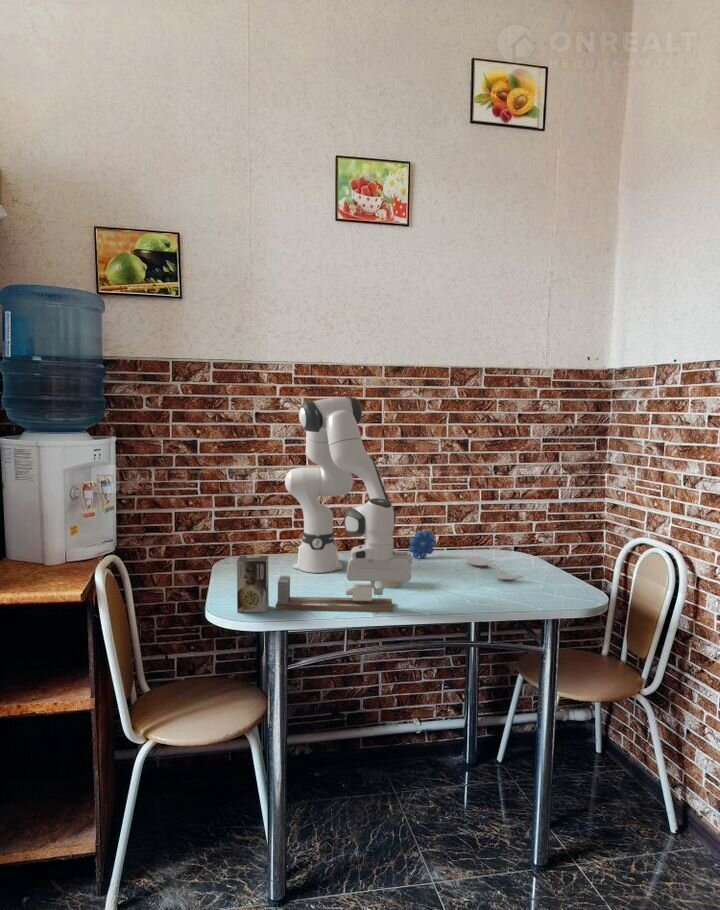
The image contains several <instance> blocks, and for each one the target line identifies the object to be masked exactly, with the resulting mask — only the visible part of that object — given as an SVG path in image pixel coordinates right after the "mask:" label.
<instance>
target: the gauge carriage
mask: <svg viewBox="0 0 720 910" xmlns="http://www.w3.org/2000/svg"><path fill="white" fill-rule="evenodd" d="M345 592H346V593H345V595H346V596H352V598H353V601H361V604H363V601H372V598H373V588H372V586H371V582H370V583H368V582H367V583H363V582H352V588H351V587H346V591H345Z"/></svg>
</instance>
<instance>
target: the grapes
mask: <svg viewBox="0 0 720 910" xmlns="http://www.w3.org/2000/svg"><path fill="white" fill-rule="evenodd" d="M435 538H436V535H435V533H434V532H430V530H428V529H424V530H423V531H422V532H421V531H417V532H415V533H414V537H412V538H411V539H410V540H409V544H410V546H409V548H408V553H410V554H411V553H412V558H413V559H414V558H416V559H417V558H421V559H425V558H427V556H428V555H431V554H432V553H433V552H434V547H435V546H437V540H436V539H435Z"/></svg>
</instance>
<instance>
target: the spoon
mask: <svg viewBox="0 0 720 910" xmlns="http://www.w3.org/2000/svg"><path fill="white" fill-rule="evenodd" d="M465 561H466V562H467V563H468V564H470V565H472V566H475V567H489V568H492V569H494V570H495V571H496V573H497V575H496V578H498V579H499V580H503V581H510V580H517V579H523V578H524V575H522V574H518V575H513V574H507V573H504V572H503V571H502V570H501V569H500V568H499V567H498V566H497V565H496V564H494V563H492V562H490V561H489V560H488V559H486V558H483V556H482V557H481V556H477V555H471V556H467V557H466V559H465Z"/></svg>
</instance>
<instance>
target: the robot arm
mask: <svg viewBox="0 0 720 910" xmlns="http://www.w3.org/2000/svg"><path fill="white" fill-rule="evenodd" d="M362 417H363V410H362V405H361V402H360V401H359V400H358V399H357V398H356V397H353V396H351V397H350V396H345V397H328V398H323V399H322V398H321V399H318V400H309V401H306V402H303V403H302V404H301V406H300V407H299V412H298V419H299V420H298V421H299V423H300V426H301V428H303V429H304V430H305V455H306V457H307V459H309V460H310V461H311V462H312V463H314V464H316V465H318V466H317V467H316V466H315V467H314V466H311V467H308V466H301V467H296V468H291V469H290V470H288V472H287V473H286V475H285V478H284V486H285V489H286V491H287V492H288V494H290V495H291V496H293V498H295V499H296V501H297V502H298V503H299V505H300V507H301V510H302V514H303V531H302V535H301V536H302V537H301V538H302V542H301V544H300V545H299V546H298V553H297V555H298V557H297V562H295V563H294V564H293V565H292V567H293V569H297V570H300V571H303V572H306V573H314V574H315V573H316V574H319V573H321V574H324V573H330V572H335V571H337V570H338V571H339V570H342V569H343V565H342V563H341V561H339V556H338V547H337V545H336V544H335V542H334V541H335V533H334V526H333V525H334V513H333V511H332V509H331V508H329V507H328V506H327V505H324V504H322V503H320V502H319V501H318V497H339V496H344V495H348V494H349V493H350V492H351V490H352V489H353V485H354V478H353V475H356V476H357V477H358V478H359V479H361V480H362V482H363V483H364V487H365V489H366V492H367V495H368V498H369V499H368V501H367V502H365V503H363V504H361V505H358V506H352V507H350V508H348V509H347V510H346V511H345V513H344V517H343V525H344V529H345V532H347V533H348V534H349V535H350V536H351V537H364V539H365V541H364V544H361V545H357V546H354V547H352V548H351V549H350V557H349V559H348V561H347V562H348V563H347V566H346V567H347V568H346V580H347V581H349V582H370V583H371V586H372V590H373V595H374V596H383V595H384V594H383V593H384V589H386V588H385V586H386V585H387V581H395V582H401V583H403V582H404V583H406V582H407V583H408V582H410V580H411V579H412V569H411V566H412V563H413V554H411V553H410V552H409V551H400V552H398V551H399V550H397V551H393V550H394V537H393V535H394V529H395V524H396V521H397V520H396V519H397V516H396V512H395V510H394V508H393V504H392V503H391V502H390V499H389V498H388V495H387V492H386V489H385V487H384V484H383V480H382V477H381V475H380V472H379V470H378V468H377V465H376V463H375V461H374V459H373V458H371V457H370V456H369V454H368V452H367V451H366V449H365V446H364V444H363V439H362V435H361V432H360V428H359V426H358V424H360V422H361V421H362V419H363V418H362ZM352 474H353V475H352ZM375 581H382V586H381V587H377V586H376V585H375Z"/></svg>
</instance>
